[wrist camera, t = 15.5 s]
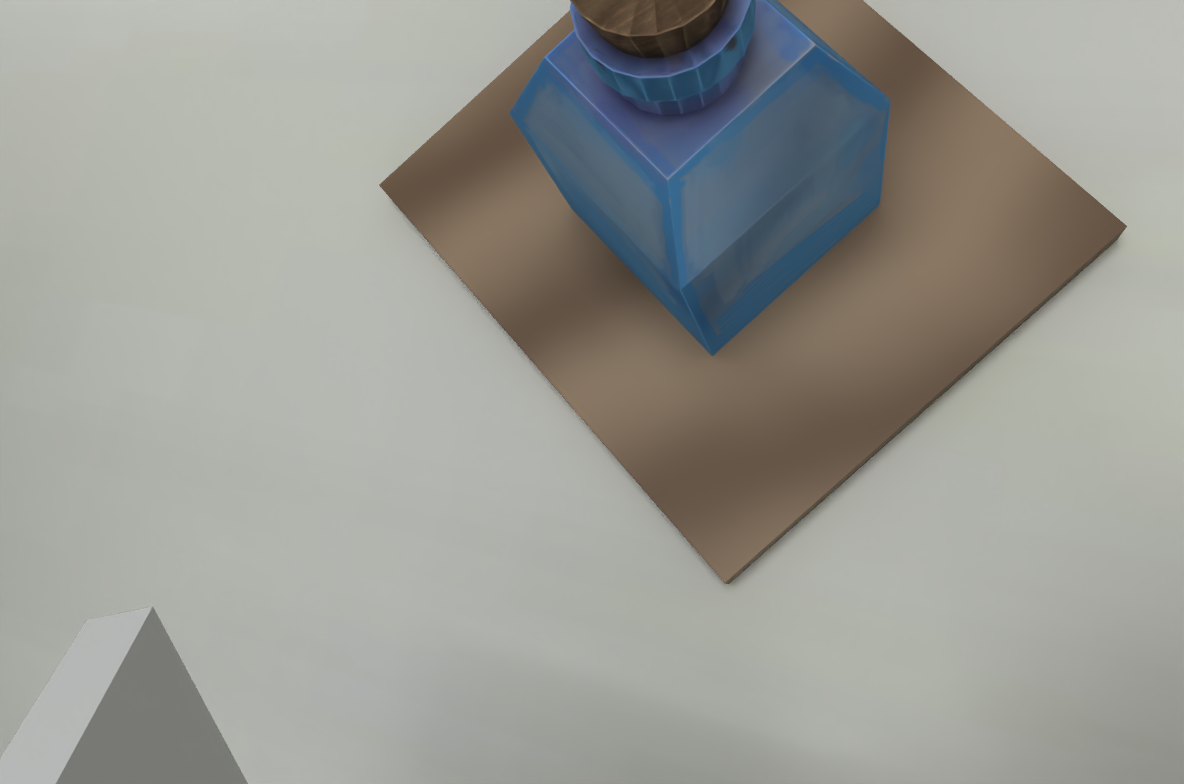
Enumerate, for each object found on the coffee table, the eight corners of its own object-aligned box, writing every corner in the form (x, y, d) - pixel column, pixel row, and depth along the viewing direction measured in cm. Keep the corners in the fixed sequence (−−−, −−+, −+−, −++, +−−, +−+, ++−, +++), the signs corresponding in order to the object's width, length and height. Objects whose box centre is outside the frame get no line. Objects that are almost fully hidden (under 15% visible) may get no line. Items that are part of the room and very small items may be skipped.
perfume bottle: (728, 65, 31) (663, -261, 19) (880, 205, 29) (908, -64, 17) (571, 208, 31) (415, -30, 19) (712, 356, 29) (631, 189, 18)
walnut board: (392, 197, 33) (379, 185, 33) (720, -103, 33) (717, -125, 32) (728, 584, 29) (724, 583, 28) (1117, 239, 28) (1126, 226, 27)
